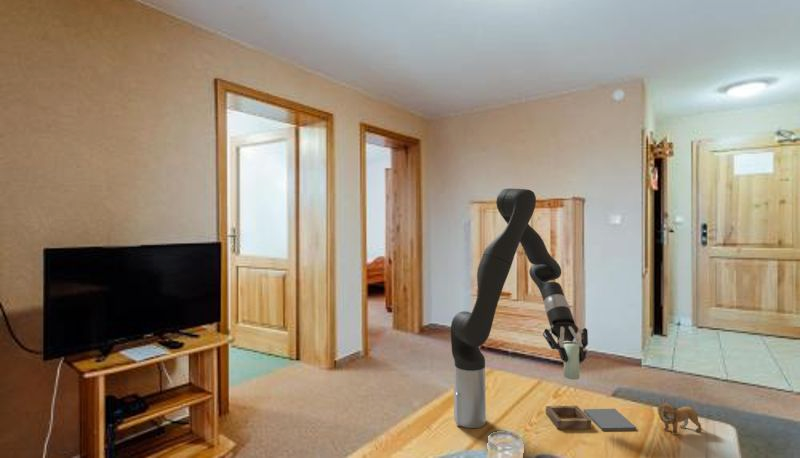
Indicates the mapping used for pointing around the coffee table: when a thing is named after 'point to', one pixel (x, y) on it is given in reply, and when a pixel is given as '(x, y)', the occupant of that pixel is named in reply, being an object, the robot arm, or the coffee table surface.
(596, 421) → the charcoal mat
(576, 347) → the sage wooden peg
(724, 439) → the coffee table surface
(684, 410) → the lion figurine
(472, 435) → the coffee table surface
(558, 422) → the walnut pocket frame
